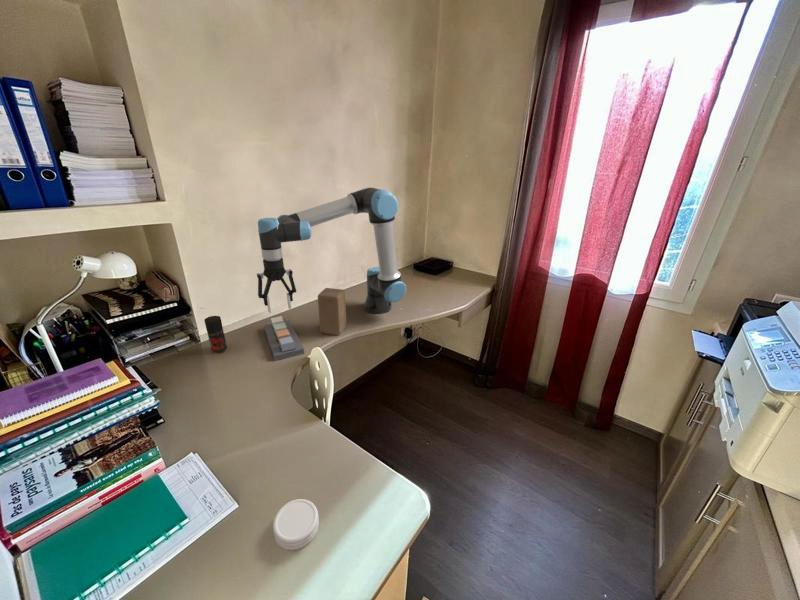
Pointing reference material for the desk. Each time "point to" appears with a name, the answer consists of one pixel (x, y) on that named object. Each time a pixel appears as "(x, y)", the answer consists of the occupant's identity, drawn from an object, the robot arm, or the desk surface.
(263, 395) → the desk surface
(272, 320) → the key grey
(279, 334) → the key terracotta
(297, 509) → the white round container
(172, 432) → the desk surface
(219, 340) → the deodorant
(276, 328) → the key sage
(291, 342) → the key slate
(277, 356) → the keypad base
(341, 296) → the wooden block
